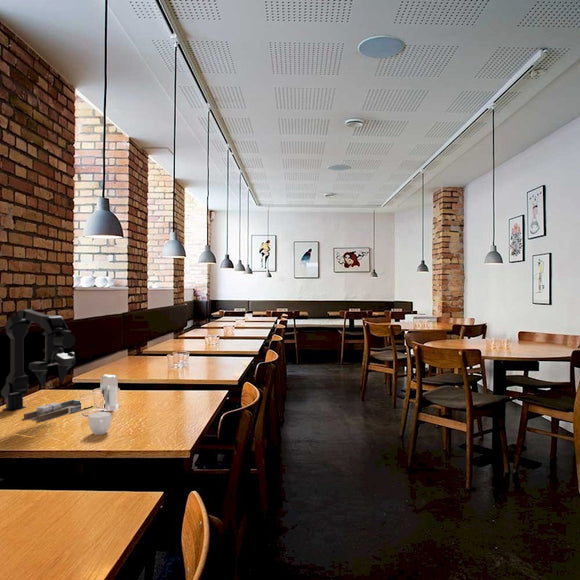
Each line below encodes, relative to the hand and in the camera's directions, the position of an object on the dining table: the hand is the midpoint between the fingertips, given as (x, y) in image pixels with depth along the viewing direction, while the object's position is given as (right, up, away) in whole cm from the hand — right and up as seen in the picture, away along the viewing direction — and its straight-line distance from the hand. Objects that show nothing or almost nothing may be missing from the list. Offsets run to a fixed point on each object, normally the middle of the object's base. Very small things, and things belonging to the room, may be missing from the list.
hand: (53, 384), depth 194 cm
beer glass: (+19, -14, +11) cm, 26 cm away
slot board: (-1, -14, +6) cm, 15 cm away
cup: (+28, -14, -22) cm, 38 cm away
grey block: (-2, -13, +4) cm, 14 cm away
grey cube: (-3, -13, 0) cm, 13 cm away
